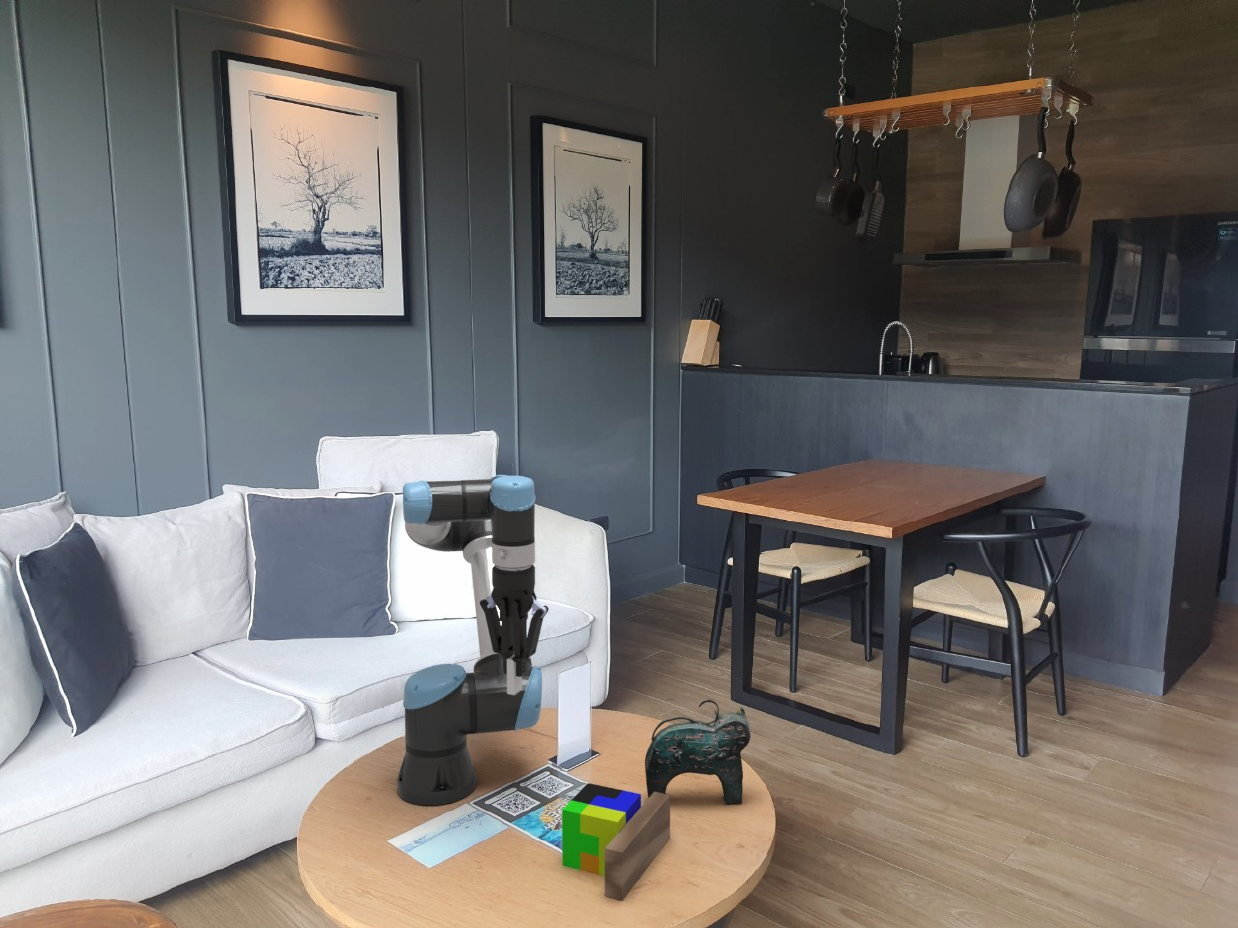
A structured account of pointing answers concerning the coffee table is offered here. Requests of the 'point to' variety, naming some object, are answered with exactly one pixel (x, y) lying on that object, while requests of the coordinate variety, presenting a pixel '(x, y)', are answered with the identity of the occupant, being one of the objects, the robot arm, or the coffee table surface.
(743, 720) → the ceramic cat
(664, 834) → the walnut board
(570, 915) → the coffee table surface
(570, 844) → the puzzle toy
